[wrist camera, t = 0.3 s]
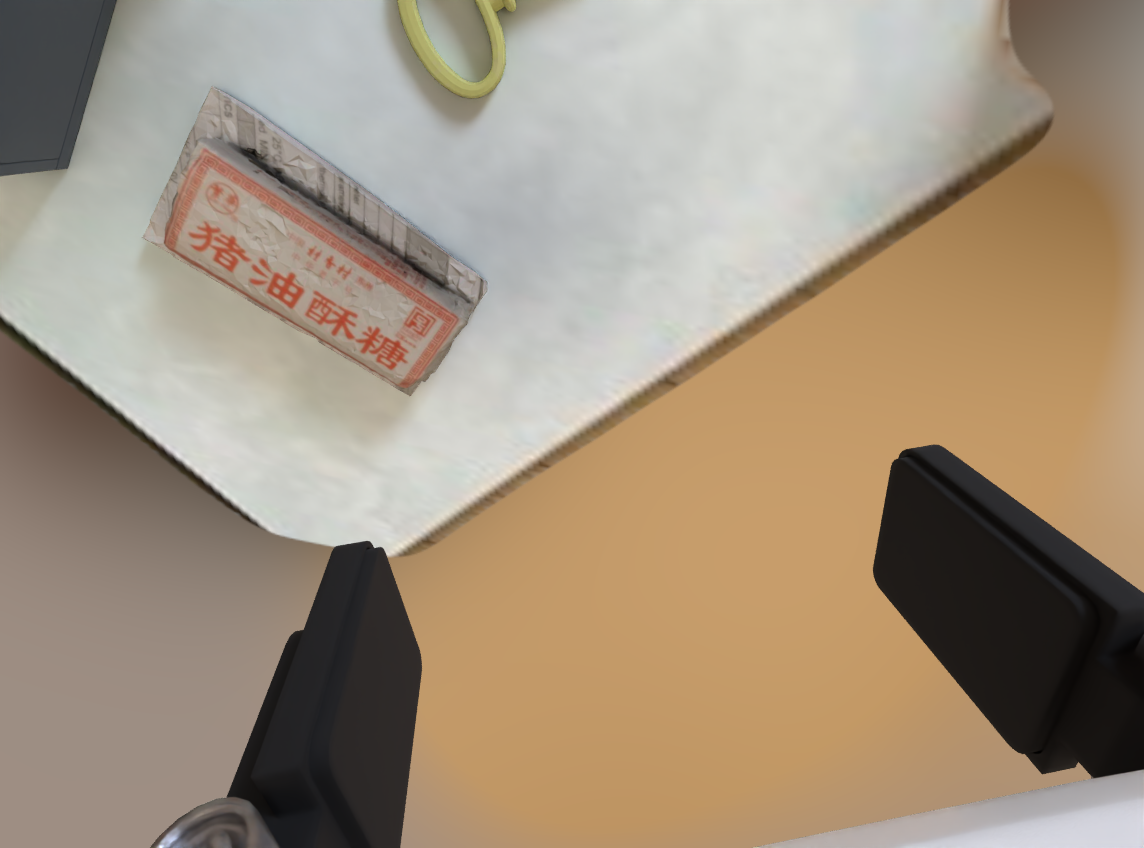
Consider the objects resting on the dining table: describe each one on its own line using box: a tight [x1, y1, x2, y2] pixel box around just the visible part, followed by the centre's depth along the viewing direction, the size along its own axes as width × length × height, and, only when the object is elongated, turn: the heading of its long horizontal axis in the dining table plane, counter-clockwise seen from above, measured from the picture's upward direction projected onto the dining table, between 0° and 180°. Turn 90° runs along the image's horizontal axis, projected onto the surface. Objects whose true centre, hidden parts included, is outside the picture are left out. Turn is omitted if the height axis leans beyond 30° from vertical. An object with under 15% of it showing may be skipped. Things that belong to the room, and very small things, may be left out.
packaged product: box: [142, 86, 487, 396], centre depth 35 cm, size 18×5×10 cm
